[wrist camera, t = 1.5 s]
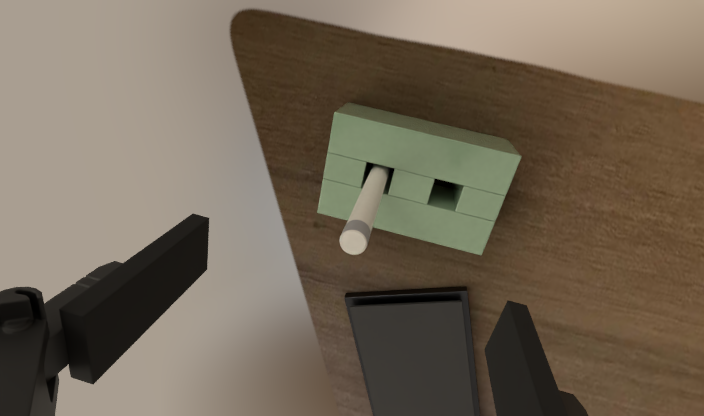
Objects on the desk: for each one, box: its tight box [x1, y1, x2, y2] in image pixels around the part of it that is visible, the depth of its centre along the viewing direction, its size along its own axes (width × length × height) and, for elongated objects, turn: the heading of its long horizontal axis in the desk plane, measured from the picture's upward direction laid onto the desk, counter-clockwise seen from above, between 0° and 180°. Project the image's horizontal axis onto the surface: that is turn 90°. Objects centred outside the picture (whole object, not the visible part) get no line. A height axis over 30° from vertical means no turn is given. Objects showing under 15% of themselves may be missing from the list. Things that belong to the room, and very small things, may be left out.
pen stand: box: [317, 102, 521, 255], centre depth 30 cm, size 8×13×5 cm, turn 79°
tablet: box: [345, 286, 480, 416], centre depth 40 cm, size 18×12×1 cm, turn 12°
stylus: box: [340, 164, 390, 255], centre depth 26 cm, size 1×1×15 cm
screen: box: [350, 300, 474, 416], centre depth 39 cm, size 17×11×1 cm, turn 11°
